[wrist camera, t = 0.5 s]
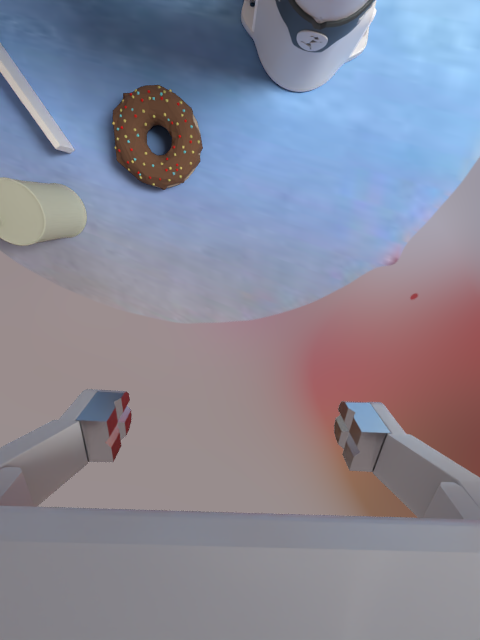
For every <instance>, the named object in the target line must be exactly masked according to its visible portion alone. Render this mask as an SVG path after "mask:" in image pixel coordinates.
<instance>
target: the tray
mask: <svg viewBox="0 0 480 640" xmlns="http://www.w3.org/2000/svg"><path fill="white" fill-rule="evenodd" d="M0 72H1V73H2V75H3V76H4V77H5V79H6V80H7V82H8V83H9V84H10V86H11V87H12V89H13V90H14V91H15V93H16V94H17V96H18V97H19V98H20V100H21V101H22V103H23V104H24V105H25V107H26V108H27V110H28V111H29V112H30V114H31V115H32V117H33V118H34V119H35V121H36V122H37V124H38V125H39V126H40V128H41V129H42V131H43V132H44V133H45V135H46V136H47V138H48V139H49V140H50V142H51V143H52V145H53V146H54V147H55V149H57V150H61V151H64V152H67V153H70V154H71V153H72V152H73V151H74V148H73V147H72V145H71V144H70V142H69V141H68V139H67V138H66V137H65V135H64V134H63V132H62V131H61V129H60V128H59V126H58V125H57V124H56V122H55V121H54V119H53V118H52V116H51V115H50V113H49V112H48V111H47V109H46V108H45V106H44V105H43V103H42V102H41V100H40V99H39V98H38V96H37V95H36V93H35V92H34V90H33V89H32V87H31V86H30V85H29V83H28V82H27V80H26V79H25V77H24V76H23V75H22V73H21V72H20V70H19V69H18V67H17V66H16V64H15V63H14V62H13V60H12V59H11V57H10V56H9V54H8V53H7V51H6V50H5V49H4V47H3V46H2V44H1V43H0Z"/></svg>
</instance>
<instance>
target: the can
mask: <svg viewBox="0 0 480 640" xmlns="http://www.w3.org/2000/svg"><path fill="white" fill-rule="evenodd" d="M86 220H87V215H86V210H85V207H84V204H83V202H82V201H81V199H80V198H79V196H78V195H77V194H76V193H75V192H74V191H72V190H71V189H70V188H68V187H66V186H64V185H61V184H56V183H50V184H47V183H38V182H29V181H21V180H14V179H10V178H0V238H1V239H3V240H4V241H6V242H9V243H11V244H14V245H20V246H27V245H31V244H34V243H39V242H44V241H49V240H54V239H60V238H71V237H74V236H77V235H78V234H80V233H81V232H82V231H83V229H84V227H85V225H86Z"/></svg>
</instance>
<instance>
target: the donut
mask: <svg viewBox="0 0 480 640" xmlns="http://www.w3.org/2000/svg"><path fill="white" fill-rule="evenodd" d="M112 124H113V125H114V136H115V145H116V146H115V149H116V157H117V161H118V162H119V163H120V164H121V165H122V166H124V167H125V168H126V169H127V170H128V171H129V172H130V173H132V174H133V175H134V176H135V177H136V178H137V179H138V180H140V181H141V182H143V183H146V184H149V185H152V186H155V187H160V188H161V189H163V190H165V189H166V188H169V187H172V186H176V185H179V184H180V183H184V181H185V180H186V179H188V177H189V176H190V175H191V174H192V173H193V171H194V170H195V168H196V166H197V165H198V164H199V162H200V152H201V150H202V149H203V147H202V141H201V135H200V131H199V127H198V123H197V121H196V119H195V117H194V115H193V112H192V109H191V108H190V107H189V106H188V105H187V104H186V103H185V102H184V101H183V100H182V99H181V98H180V97H178V96H177V95H176V94H175V93H173V92H172V90H167V89H166V88H164V87H162V86H160V85H149V86H143V87H140V88H138V89H137V90H135V91H134V92H132V93H123V100H122V102H121V103H120V104H119V105H118V106H117V107H116V108H115V109H114V110H113V122H112ZM156 125H160V126H163V127H164V128H166V129H167V130H168V132H169V134H170V135H171V137H172V145H171V148H170V150H169V151H168V152H167V153H166V154H165V155H156V154H154V153H152V152H151V150H150V148H149V147H148V145H147V133H148V131H149V130H150V129H151V128H152V127H153V126H156Z"/></svg>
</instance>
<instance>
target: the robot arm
mask: <svg viewBox="0 0 480 640" xmlns="http://www.w3.org/2000/svg"><path fill="white" fill-rule="evenodd" d="M251 2H254V3H255V6H254V7H251V6H250V3H251ZM375 4H376V0H244V3H243V7H242V11H241V21H242V24H243V26H244V28H245V29H246V31H247V32H248V33H249V35H250V36H251V37H252V38H253V40H254V42H255V45H256V48H257V52H258V55H259V58H260V61H261V63H262V65H263V67H264V69H265V71H266V72H267V73H268V75H269V76H270V77H271V78H272V80H273V81H275V82H276V83H277V84H278V85H280V86H281V87H283V88H285V89H288V90H291V91H296V92H305V91H310V90H313V89H316V88H318V87H320V86H321V85H323V84H324V83H326V82H327V81H328V80H329V79H330V78H331V77H332V76H333V75H334V74H335V73H336V72H337V71H338V70H339V68H340V67H341V66H342V65H343V64H345V63H346V62H348V61H350V60H352V59H354V58H356V57H357V56H359V55H360V54H361V53H362V52H363V50H364V48H365V47H366V44H367V39H368V32H369V25H370V24H371V22H372V20H373V18H374V16H375V14H376V9H375ZM129 401H130V398H129V393H128V392H126V391H111V390H93V389H86V390H84V391H83V392H82V393H81V394H80V395H79V396H78V398H77V399H76V400H75V401H74V402H73V403H72V405H71V406H70V407H69V408H68V409H67V411H66V412H65V413H64V414H63V415H62V416H61V418H60V419H59V420H53V421H51V422H49V423H47V424H45V425H43V426H42V427H39V428H37V429H36V430H34V431H32V432H30V433H28V434H26V435H24V436H22V437H20V438H18V439H16V440H14V441H12V442H10V443H8V444H7V445H5V446H3V447H1V448H0V640H480V478H479V477H478V476H476V475H475V474H473V473H471V472H470V471H468V470H466V469H465V468H463V467H462V466H460V465H458V464H457V463H455V462H454V461H452V460H450V459H449V458H447V457H446V456H444V455H442V454H441V453H439V452H438V451H436V450H434V449H433V448H431V447H430V446H428V445H426V444H425V443H423V442H422V441H420V440H418V439H417V438H415V437H414V436H412V435H409V434H406V433H405V432H404V431H403V429H402V428H401V427H400V425H399V424H398V423H397V422H396V420H395V419H394V418H393V416H392V415H391V414H390V412H389V411H388V410H387V408H386V407H385V405H384V404H382V403H381V402H345V401H342V402H341V403H340V405H339V408H338V410H339V412H340V414H341V415H340V416H338V417H337V418H336V420H335V425H334V433H335V437H336V440H337V443H338V444H339V445H340V446H341V447H342V448H343V449H344V451H343V456H344V459H345V461H346V464H347V466H348V468H349V470H350V471H367V472H373V474H374V475H375V476H376V477H377V478H378V479H379V480H380V481H381V482H382V483H383V484H384V485H386V486H387V487H388V488H389V489H390V490H391V491H392V492H393V493H394V494H395V495H396V496H397V497H398V498H399V499H400V500H401V501H402V502H403V503H404V504H405V505H406V506H407V507H408V508H409V509H410V510H411V511H412V512H413V513H414V514H415V515H416V516H417V517H418V518H402V517H370V516H336V515H335V516H334V515H302V514H267V513H234V512H201V511H198V512H197V511H167V510H133V509H132V510H131V509H99V508H98V509H97V508H65V507H64V508H63V507H37V506H38V505H39V504H41V503H42V502H43V501H44V500H45V499H47V498H48V497H49V496H50V495H51V494H52V493H54V492H55V491H56V490H57V489H58V488H60V487H61V486H62V485H63V484H64V483H65V482H67V481H68V480H69V479H70V478H71V477H73V476H74V475H75V474H76V473H77V472H78V471H80V470H81V469H82V468H83V467H84V466H86V465H87V464H88V462H114V460H115V458H116V456H117V454H118V452H119V450H120V448H121V439H123V438H124V437H125V436H126V435H127V433H128V431H129V428H130V424H131V416H132V414H131V409H130V408H129V407H128V406H127V404H128V403H129Z"/></svg>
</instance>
